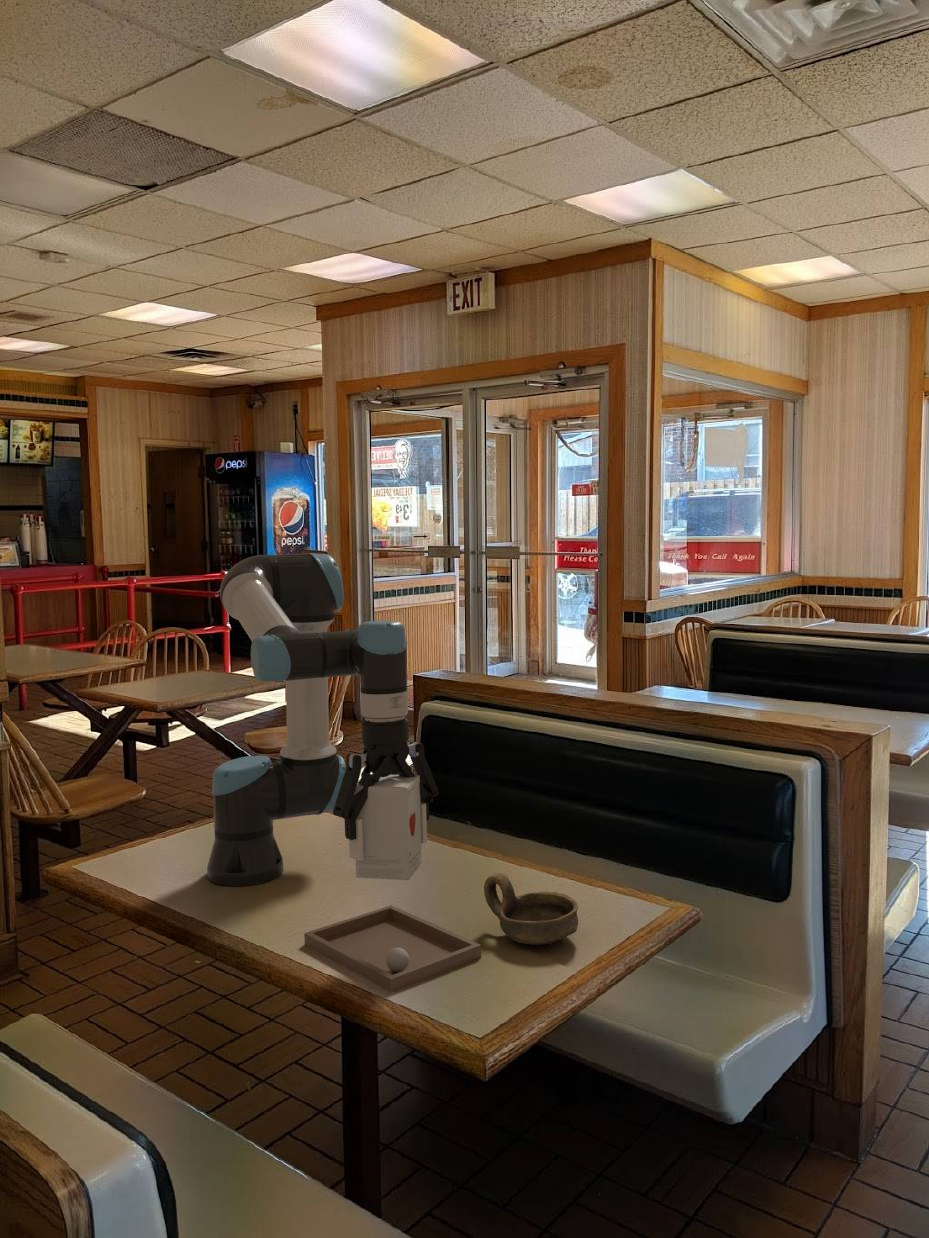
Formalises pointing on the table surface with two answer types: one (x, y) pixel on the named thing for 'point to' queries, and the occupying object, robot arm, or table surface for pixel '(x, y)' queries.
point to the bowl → (531, 912)
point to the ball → (397, 959)
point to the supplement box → (391, 829)
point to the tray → (392, 946)
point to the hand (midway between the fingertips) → (389, 849)
